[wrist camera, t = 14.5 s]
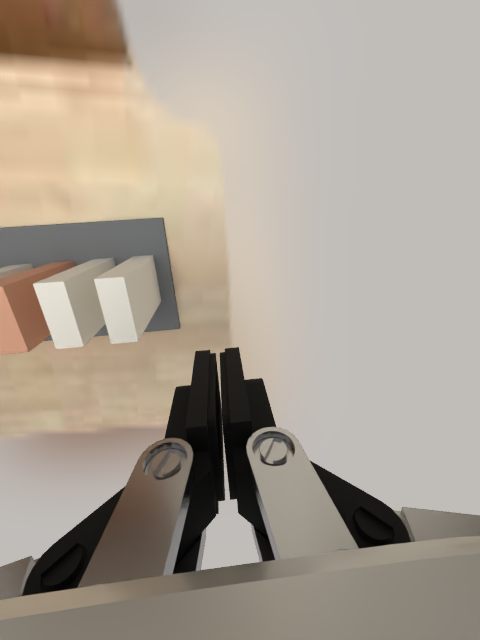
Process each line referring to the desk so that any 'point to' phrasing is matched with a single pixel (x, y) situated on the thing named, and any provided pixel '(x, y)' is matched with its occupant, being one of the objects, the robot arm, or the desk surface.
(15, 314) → the terracotta domino
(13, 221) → the desk surface
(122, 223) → the charcoal mat
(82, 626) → the robot arm
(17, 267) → the ivory domino
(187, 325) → the desk surface
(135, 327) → the ivory domino
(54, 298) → the ivory domino
